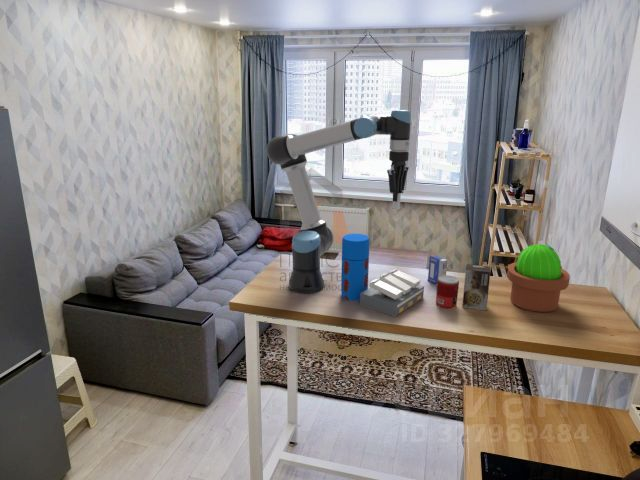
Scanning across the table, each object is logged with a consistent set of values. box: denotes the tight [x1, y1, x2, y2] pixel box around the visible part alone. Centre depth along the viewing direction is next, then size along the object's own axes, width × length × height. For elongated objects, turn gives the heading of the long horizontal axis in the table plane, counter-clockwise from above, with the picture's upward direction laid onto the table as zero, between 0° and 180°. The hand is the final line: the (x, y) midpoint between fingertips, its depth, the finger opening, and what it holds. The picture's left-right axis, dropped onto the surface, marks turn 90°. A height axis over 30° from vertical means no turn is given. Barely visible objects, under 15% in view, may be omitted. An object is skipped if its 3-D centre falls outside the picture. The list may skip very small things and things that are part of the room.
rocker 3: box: [388, 268, 421, 288], centre depth 188 cm, size 12×4×2 cm, turn 51°
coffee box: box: [461, 263, 492, 311], centre depth 180 cm, size 9×6×16 cm
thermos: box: [340, 233, 371, 302], centre depth 188 cm, size 11×11×25 cm
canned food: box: [435, 274, 460, 309], centre depth 181 cm, size 8×8×11 cm
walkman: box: [427, 254, 448, 285], centre depth 202 cm, size 8×3×12 cm, turn 32°
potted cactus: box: [506, 242, 571, 313], centre depth 181 cm, size 22×22×25 cm
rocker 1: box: [368, 278, 403, 300], centre depth 178 cm, size 12×4×2 cm, turn 51°
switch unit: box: [359, 284, 425, 318], centre depth 185 cm, size 16×22×7 cm
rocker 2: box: [378, 272, 411, 295], centre depth 183 cm, size 12×4×2 cm, turn 51°
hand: (396, 208), depth 190 cm, fingers closed
